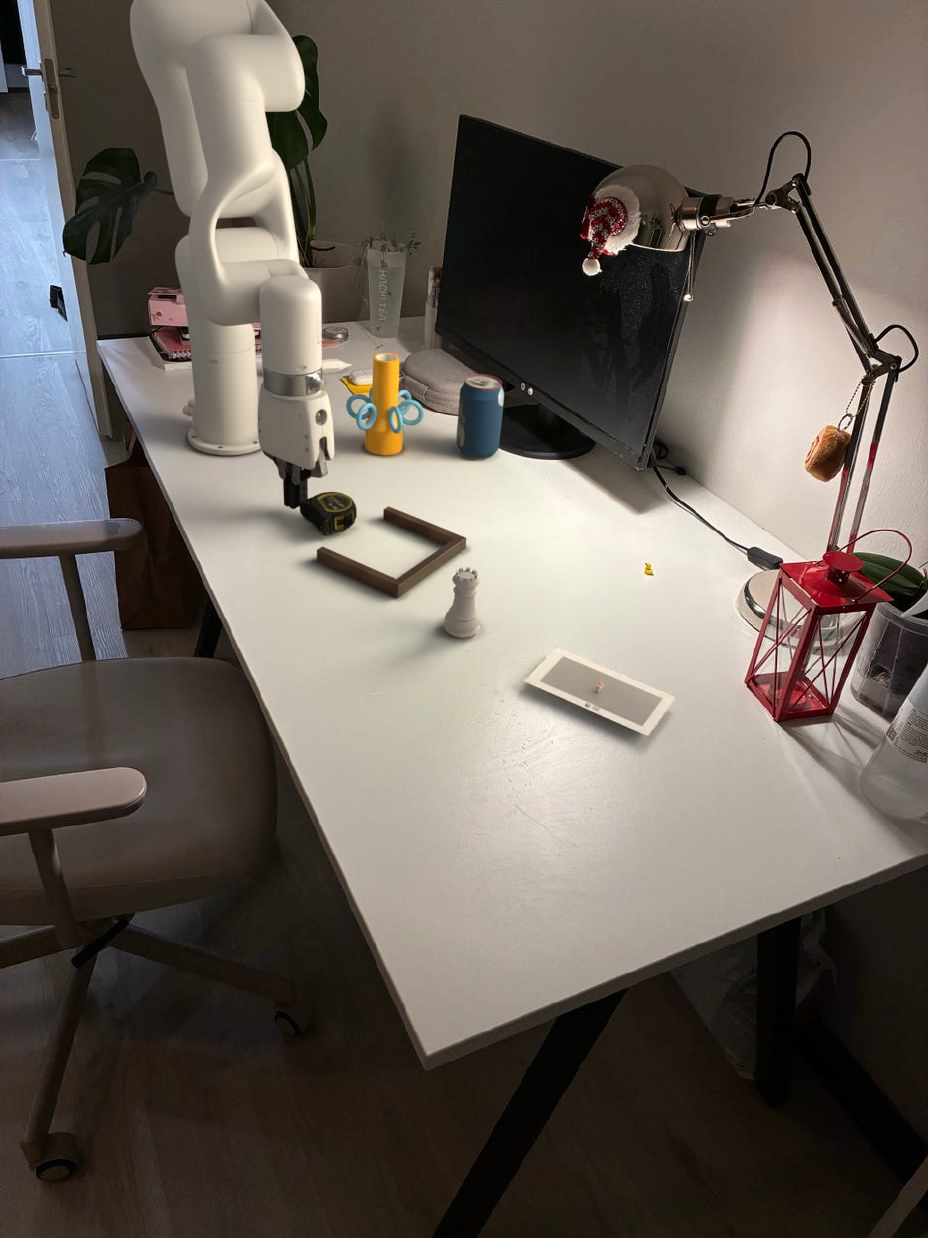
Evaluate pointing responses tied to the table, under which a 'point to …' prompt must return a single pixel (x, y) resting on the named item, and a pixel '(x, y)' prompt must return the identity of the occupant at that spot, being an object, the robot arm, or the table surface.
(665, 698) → the touchpad
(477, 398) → the soda can
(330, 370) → the marker
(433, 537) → the frame
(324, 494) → the tape measure
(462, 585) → the rook chess piece
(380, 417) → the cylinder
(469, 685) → the table surface
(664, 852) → the table surface
